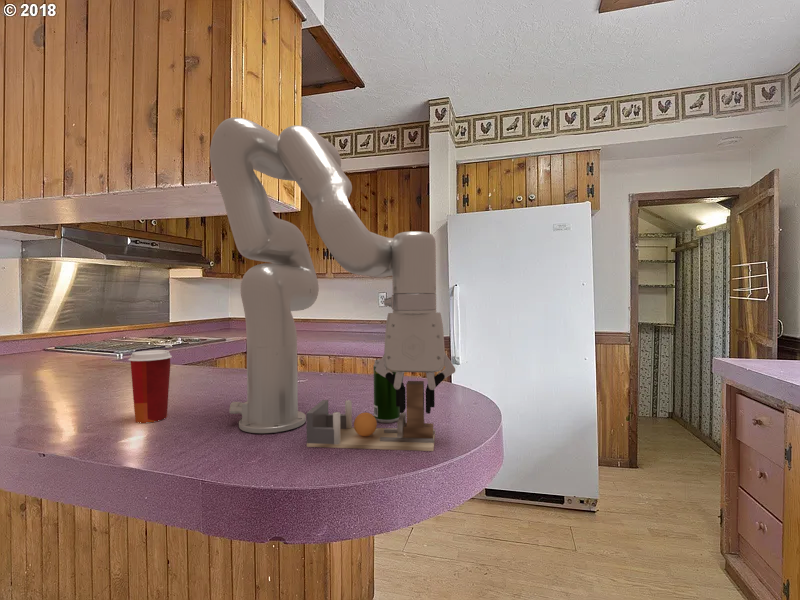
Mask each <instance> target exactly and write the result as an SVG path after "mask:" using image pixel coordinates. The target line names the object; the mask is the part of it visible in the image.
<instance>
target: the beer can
mask: <svg viewBox="0 0 800 600" xmlns="http://www.w3.org/2000/svg"><path fill="white" fill-rule="evenodd" d="M380 360H381V358H380V359H379V358H378V359H374V364H373V366H372V367H373V368H372V369H373V372H372V373H373V416H374V417H375V419H376V421H377V422H378V423H380V424H390V423H391V424H393V423H397V422H398V419H399V417H400V415H401V413H400V407H396V389H395V388H394V386H393V385H392V384H391V383H390V382H389V381H388V380H387V379H386V378H385V377H383V376H382V375H380V374H379V373H377V372H376V371H375V368H376V367H377V365H378V363H379V362H380ZM391 372H392V371H391ZM393 373H394V374H395V375H396V372H393Z"/></svg>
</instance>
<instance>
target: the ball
mask: <svg viewBox="0 0 800 600" xmlns="http://www.w3.org/2000/svg"><path fill="white" fill-rule="evenodd" d="M377 426H378V423H377V421H376V419H375V417H374V414H372V413H370V412H362V413H359V414H358V415H357V416H355V419H354V421H353V427H354V429H355V431H356V432H357V433H358V434H359V435H361V436H369V435H371V434H373V433H374V431H375V430H376V428H378V427H377Z"/></svg>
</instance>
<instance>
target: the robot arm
mask: <svg viewBox="0 0 800 600" xmlns="http://www.w3.org/2000/svg"><path fill="white" fill-rule="evenodd" d="M340 155H341V154H340V153H339V151H338V149H337V148H336V147H335V146H334V145H333V144H332V143H331V142H330V141H329V140H327V139H325V138H324V137H323V136H321V135H320V134H319V133H317V132H316V131H315V130H312V129H311V128H309V127H307V126H304V125H297V124H296V125H294V124H293V125H291V126H288V127H286V128H285V129H283V130H282V131H281V132H280V134H279V135H277V134H276V133H273V132H272V131H270V130H269V129H267V128H266V127H264V126H262V125H261V124H258V123H256V122H254V121H253V120H251V119H250V120H249V119H246V118H243V117H229V118H227V119H224V120H223V121H222V122H220V123H219V124H218V126H217V127H216V129H215V131H214V133H213V136H212V138H211V141H210V147H209V161H210V167H211V170H212V174H213V177H214V179H215V181H216V184H217V187H218V190H219V192H220V194H221V197H222V201H223V205H224V207H225V212H226V215H227V218H228V219H227V220H228V223H229V226H230V230H231V232H232V236H233V239H234V243H235V246H236V249H237V250H238V252H239V253H240V255H241V256H242V257H244V258H246V259H248V260H251V261H252V260H253V261H258V262H264V263H260V264H257V265H254V266H251V267H250V268H249V269H248V270H247V271H246V272H245V273H244V274H243V277H242V279H241V282H240V297H241V302H242V307H243V312H244V318H245V327H246V328H245V329H246V330H245V331H246V332H245V333H246V338H245V339H246V385H247V386H246V391H247V392H246V394H247V395H246V396H247V397H246V401H245V402H242V401H232V402H231V403H230V405H229V411H228V412H229V414H230V415H237V414H240V415H241V418H240V419H239V421H238V428H239V429H240V430H241V431H243V432H246V433H249V434H250V433H252V434H273V433H275V434H276V433H281V432H287V431H291V430H294V429H296V428H299V427H301V426H302V425H304V424H305V423H306V422H307V414H305V413H304V412H302V411H299V410H298V409H299V407H298V405H299V403H298V401H299V399H298V398H299V397H298V395H299V394H298V391H299V390H298V388H299V386H298V331H297V326H296V323H295V322H296V321H295V320H294V319H295V318H294V317H293V314H292V312H298V311H304V310H306V309H309V308H311V307H312V306H313V305H314V304H315V303H316V301H317V299H318V296H319V289H320V288H319V287H320V285H319V281H318V277H317V273H316V269H315V267H314V263H313V260H312V257H311V254H310V250H309V247H308V243H307V241H306V238H305V236H304V234H303V232H302V231H301V230H300V229H299V227H297V225H295V224H294V223H292V222H290V221H288V220H285V219H281V218H278V217H277V216H276V215H275V214H274V212H273V210H272V206H271V205H270V202H269V201H270V200H269V197H268V194H267V191H266V189H265V186H264V185H263V184H262V182H261V181H260V179H259V177H258V176H257V174H256V173H255V171H257V172H259V173H261V174H264V175H266V176H268V177H270V178H273V179H277V180H281V181H291V182H296V184H297V186H298V187H299V188H300V190H301V192H302V193H303V195H304V197H305V198H306V199H307V201H308V202H309V203H310V206H311V208H312V217H313V222H314V223H313V224H314V225H315V226H314V227H315V229H316V231H317V234H318V235H319V237H320V239H321V241H322V242H323V244H324V245H325V247H326V248H327V249H328V252H330V254H331V256H332V258H333V259H334V260H335V261H336V262H337V264H339V266H340V267H341V268H343V269H344V270H345V271H347V272H348V273H351V274H353V275H358V276H366V277H371V278H385V277H391V276H392V277H391V278H392V279H391V280H392V282H391V283H392V294H391V296H390V297H387V298H386V297H385V298H384V299H383V304H384V307H389V308H391V310H392V312H388V313H387V317H386V323H385V333H384V351H383V355H382V357H381V358H380V359H381V360H380V362H379V363H378V365H377V367H376V368H375V371H376V372H377V373H379V374H380V375H382V376H383V377H385V378H386V379H387V380H388V381H389V382H390V383H391V384H392V385H393V386H394V388H395V389H396V407H400V414H401V413H403V412H406V411H405V410H406V409H407V406H406V386H405V383H404V376H405V373H425V374H426V380H427V385H426V388H425V413H426V414H429V415H430V414H431V410H432V409H431V408H435V405H436V404H435V403H436V401H435V399H436V398H435V397H436V396H435V389H436V387H438V386H439V385H440V384H441V383H442V382H443V381H444V380H445V379H447V378H448V377H449V376H452V375H453V374H454V373H456V367H455V366H454V364H453V363H452V361H451V359H450V358H449V357H448V355H447V353H446V352H445V351H446V349H445V336H444V333H445V332H444V326H443V325H444V324H443V318H442V315H441V314H442V313H441V312H437V259H436V258H437V249H436V248H437V245H436V238H435V236H434V235H433V234H432V233H430V232H426V231H418V230H416V231H415V230H414V231H402V232H398V233H397V234H395V235H394V236H393V237H387V236H383V235H380V234H378V233H375V232H372V231H370V230H369V229H368V228H367V227H366V225H365V224H364V223H363V221H362V220H361V218H359V216H358V214H357V213H356V212H355V210H354V209H353V207H352V205H351V204H350V201H349V198H350V196H351V193H352V191H353V185H352V182H351V180H350V179H349V177H348V176H347V175H346V174H345V172H344V170H343V169H342V167H341V166H342V158H341V156H340ZM391 371H392V372H391ZM393 372H396V375H395V374H394V373H393ZM436 373H437V374H436ZM435 374H436V375H435Z"/></svg>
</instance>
